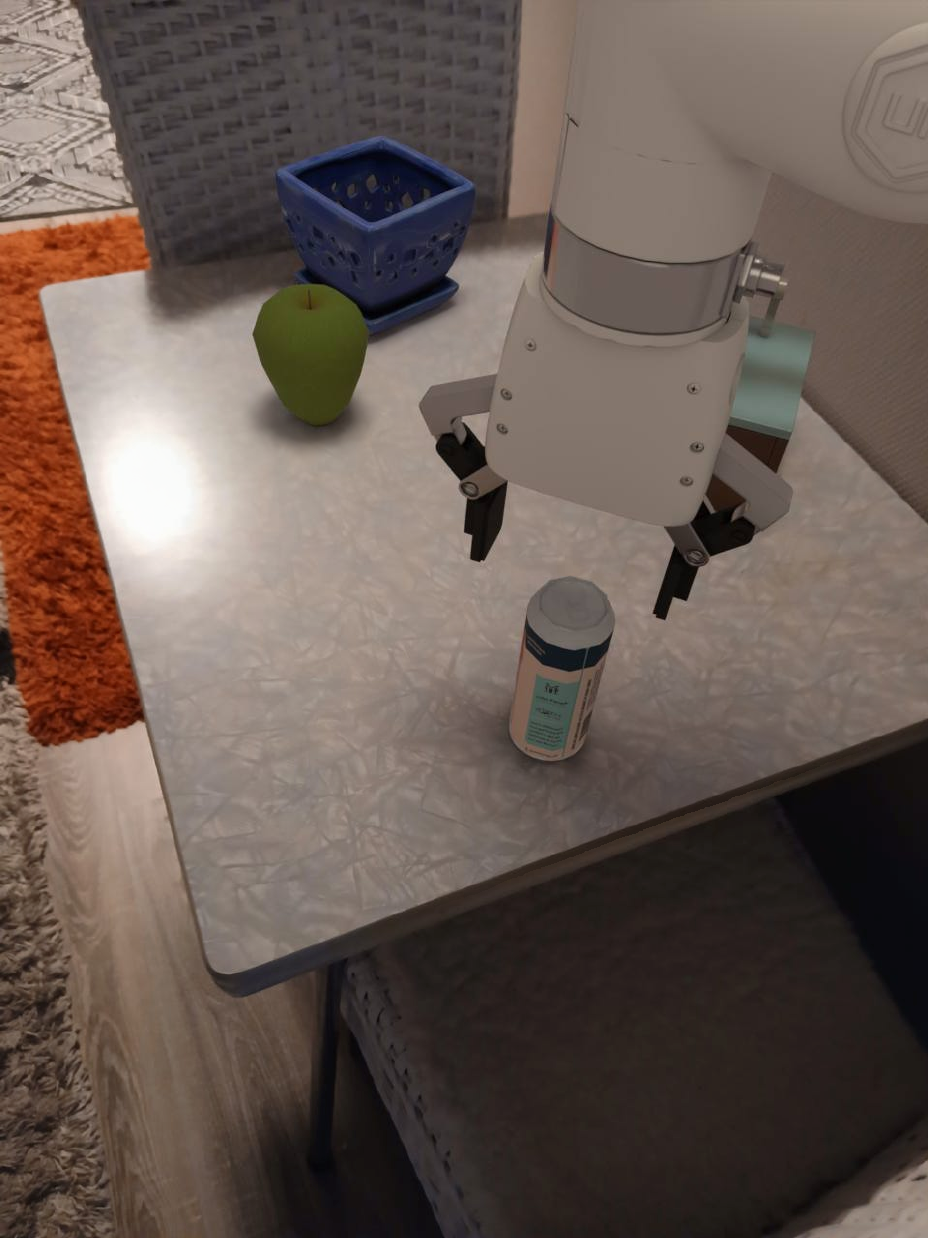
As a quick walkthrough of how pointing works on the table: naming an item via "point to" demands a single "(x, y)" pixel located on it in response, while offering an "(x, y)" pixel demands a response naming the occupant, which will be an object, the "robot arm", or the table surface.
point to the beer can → (560, 667)
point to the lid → (772, 373)
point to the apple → (312, 349)
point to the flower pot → (377, 227)
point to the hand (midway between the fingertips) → (573, 571)
